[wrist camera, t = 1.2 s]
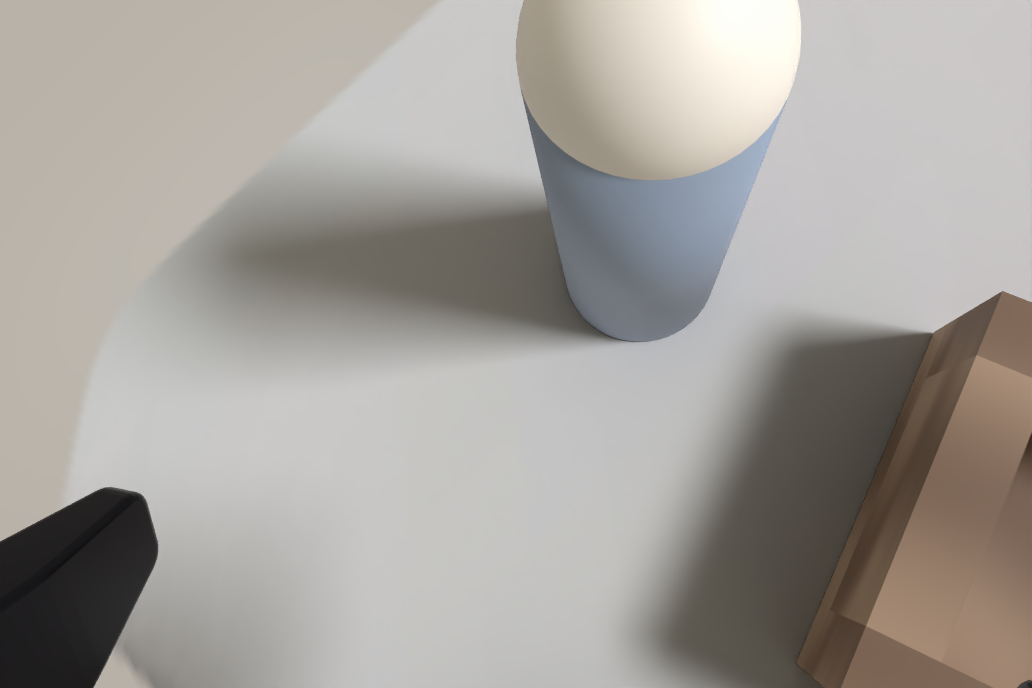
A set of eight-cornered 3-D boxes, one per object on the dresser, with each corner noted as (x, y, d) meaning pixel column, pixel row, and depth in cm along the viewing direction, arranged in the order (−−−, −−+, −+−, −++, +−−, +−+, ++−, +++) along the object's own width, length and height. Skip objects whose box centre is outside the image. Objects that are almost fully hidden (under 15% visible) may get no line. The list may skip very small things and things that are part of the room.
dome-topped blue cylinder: (677, 366, 22) (751, 162, 10) (540, 305, 23) (442, 44, 10) (738, 233, 23) (885, -127, 10) (602, 178, 24) (582, -219, 11)
